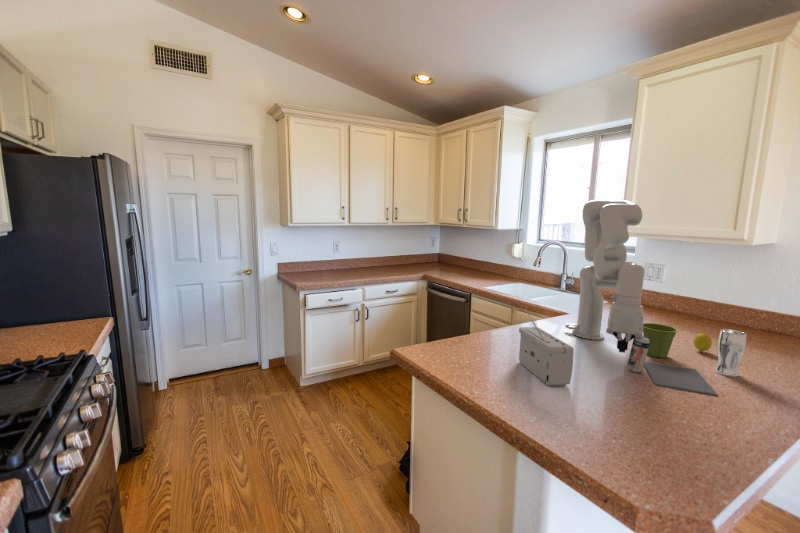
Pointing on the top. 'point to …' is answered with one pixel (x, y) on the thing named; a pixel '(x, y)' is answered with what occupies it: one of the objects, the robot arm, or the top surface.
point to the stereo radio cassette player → (545, 356)
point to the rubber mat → (678, 378)
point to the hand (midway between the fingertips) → (621, 351)
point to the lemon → (702, 342)
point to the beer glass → (730, 351)
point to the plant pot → (659, 338)
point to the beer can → (638, 354)
